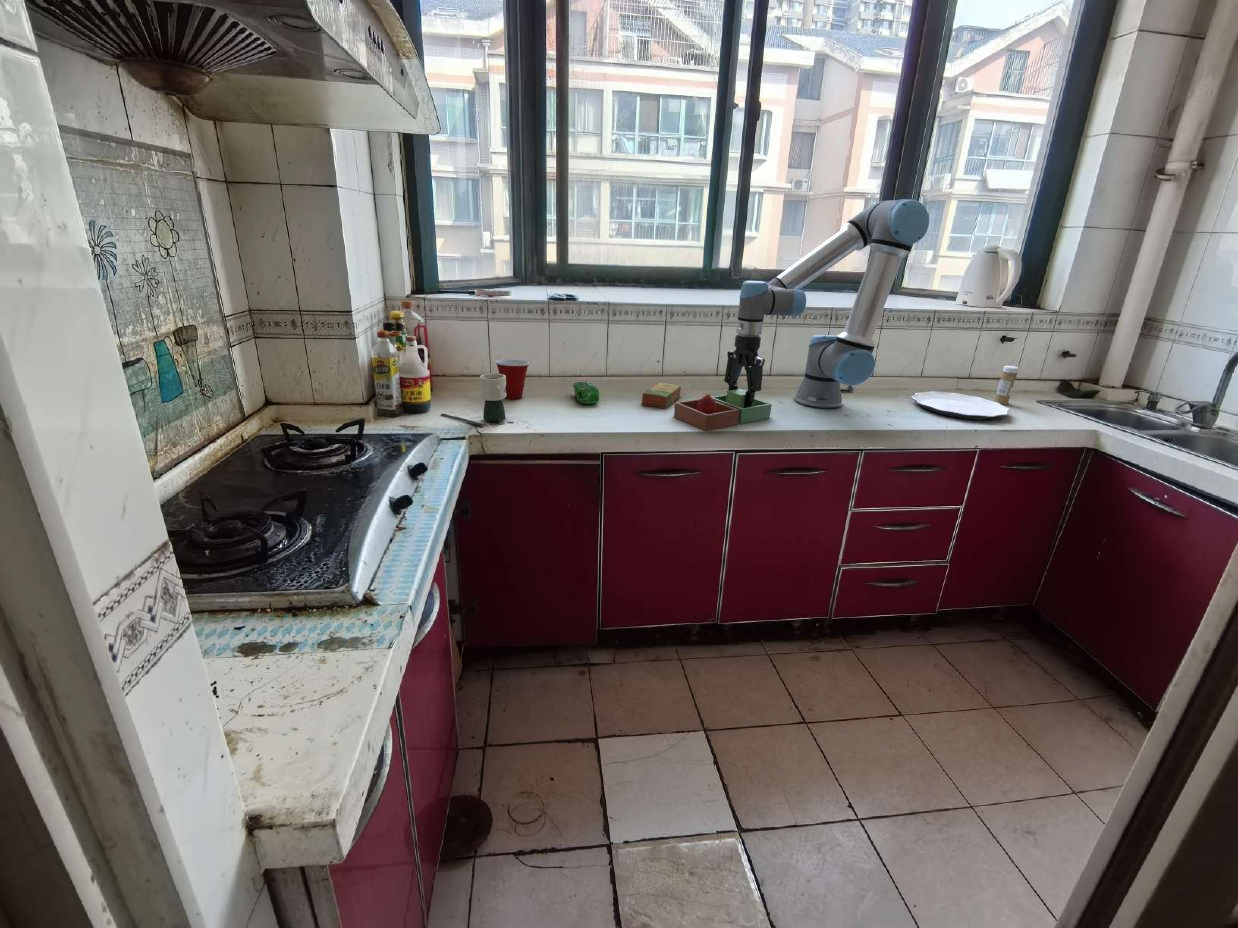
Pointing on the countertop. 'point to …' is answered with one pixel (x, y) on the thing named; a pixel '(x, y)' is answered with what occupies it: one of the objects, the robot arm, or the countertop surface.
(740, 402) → the green block
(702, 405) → the onion
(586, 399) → the snack package
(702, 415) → the brown bin
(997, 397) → the sprinkles bottle
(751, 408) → the green bin
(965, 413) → the plate
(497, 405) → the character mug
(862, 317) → the robot arm
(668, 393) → the carton
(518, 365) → the plastic cup
